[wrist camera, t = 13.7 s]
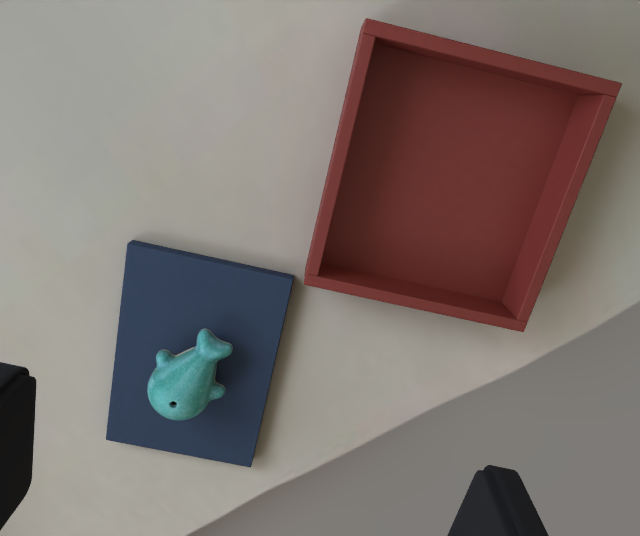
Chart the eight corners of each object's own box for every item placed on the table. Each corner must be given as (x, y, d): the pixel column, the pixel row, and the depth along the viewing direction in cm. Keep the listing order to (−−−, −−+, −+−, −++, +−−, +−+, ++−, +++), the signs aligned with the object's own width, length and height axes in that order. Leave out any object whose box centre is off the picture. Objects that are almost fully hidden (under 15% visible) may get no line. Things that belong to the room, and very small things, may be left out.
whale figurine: (138, 375, 39) (119, 404, 35) (191, 308, 37) (177, 330, 33) (200, 416, 40) (188, 448, 36) (255, 352, 38) (247, 379, 34)
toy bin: (361, 26, 32) (366, 17, 28) (592, 85, 33) (622, 83, 29) (305, 268, 37) (303, 284, 33) (506, 312, 38) (523, 332, 34)
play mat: (132, 239, 36) (127, 243, 35) (294, 275, 37) (293, 279, 36) (110, 432, 41) (105, 439, 40) (252, 459, 42) (250, 467, 41)
